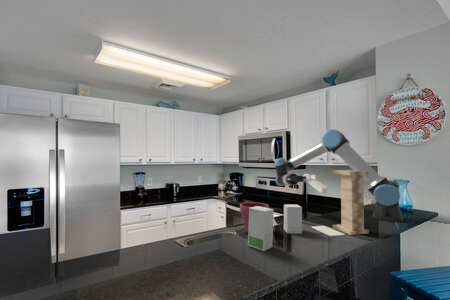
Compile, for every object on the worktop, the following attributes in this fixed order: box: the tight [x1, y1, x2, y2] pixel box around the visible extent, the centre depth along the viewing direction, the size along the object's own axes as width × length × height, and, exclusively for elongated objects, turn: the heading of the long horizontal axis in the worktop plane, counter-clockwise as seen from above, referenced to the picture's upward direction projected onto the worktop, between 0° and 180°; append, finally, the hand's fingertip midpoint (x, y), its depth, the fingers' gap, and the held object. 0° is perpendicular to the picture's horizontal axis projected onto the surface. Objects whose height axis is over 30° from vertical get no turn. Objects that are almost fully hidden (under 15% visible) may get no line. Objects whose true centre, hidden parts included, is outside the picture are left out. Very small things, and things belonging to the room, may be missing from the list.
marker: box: [299, 171, 329, 195], centre depth 139 cm, size 3×21×3 cm, turn 17°
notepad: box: [311, 225, 346, 237], centre depth 119 cm, size 8×15×1 cm, turn 16°
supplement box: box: [283, 204, 303, 235], centre depth 119 cm, size 7×7×13 cm
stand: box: [331, 169, 370, 236], centre depth 121 cm, size 11×12×30 cm
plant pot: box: [239, 201, 270, 233], centre depth 120 cm, size 14×14×13 cm
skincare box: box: [247, 206, 275, 252], centre depth 98 cm, size 8×7×16 cm
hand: (312, 176), depth 139 cm, fingers closed on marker, 3 cm apart
